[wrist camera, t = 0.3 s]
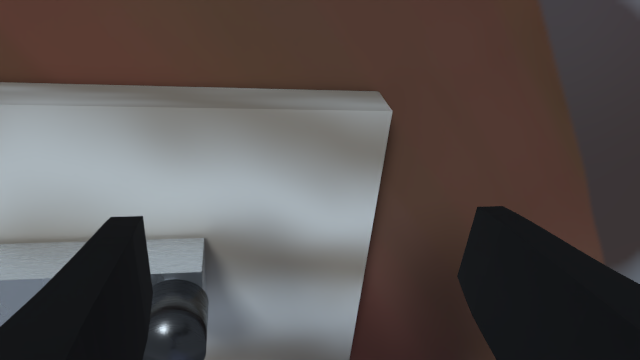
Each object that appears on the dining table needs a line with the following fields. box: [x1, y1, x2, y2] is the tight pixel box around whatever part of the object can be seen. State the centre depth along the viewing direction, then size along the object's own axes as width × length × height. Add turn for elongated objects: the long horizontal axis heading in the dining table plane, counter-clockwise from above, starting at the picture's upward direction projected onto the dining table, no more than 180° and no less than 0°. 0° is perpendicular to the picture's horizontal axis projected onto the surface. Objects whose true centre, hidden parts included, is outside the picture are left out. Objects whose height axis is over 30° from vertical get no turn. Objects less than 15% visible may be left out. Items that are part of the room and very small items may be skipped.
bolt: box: [0, 238, 209, 360], centre depth 17 cm, size 3×10×4 cm, turn 85°
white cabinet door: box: [0, 82, 392, 360], centre depth 18 cm, size 14×25×6 cm, turn 85°
